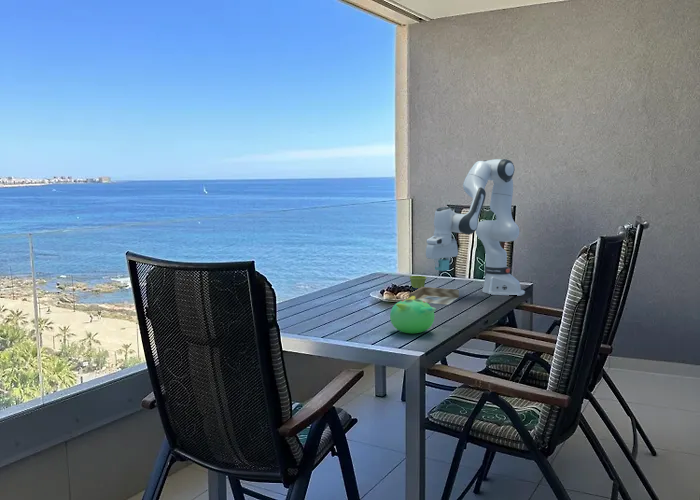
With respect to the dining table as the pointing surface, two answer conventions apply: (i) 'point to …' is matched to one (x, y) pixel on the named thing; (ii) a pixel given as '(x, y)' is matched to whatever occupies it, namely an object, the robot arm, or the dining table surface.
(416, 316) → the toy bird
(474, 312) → the dining table surface
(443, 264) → the cube
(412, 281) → the plant pot
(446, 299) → the arena
